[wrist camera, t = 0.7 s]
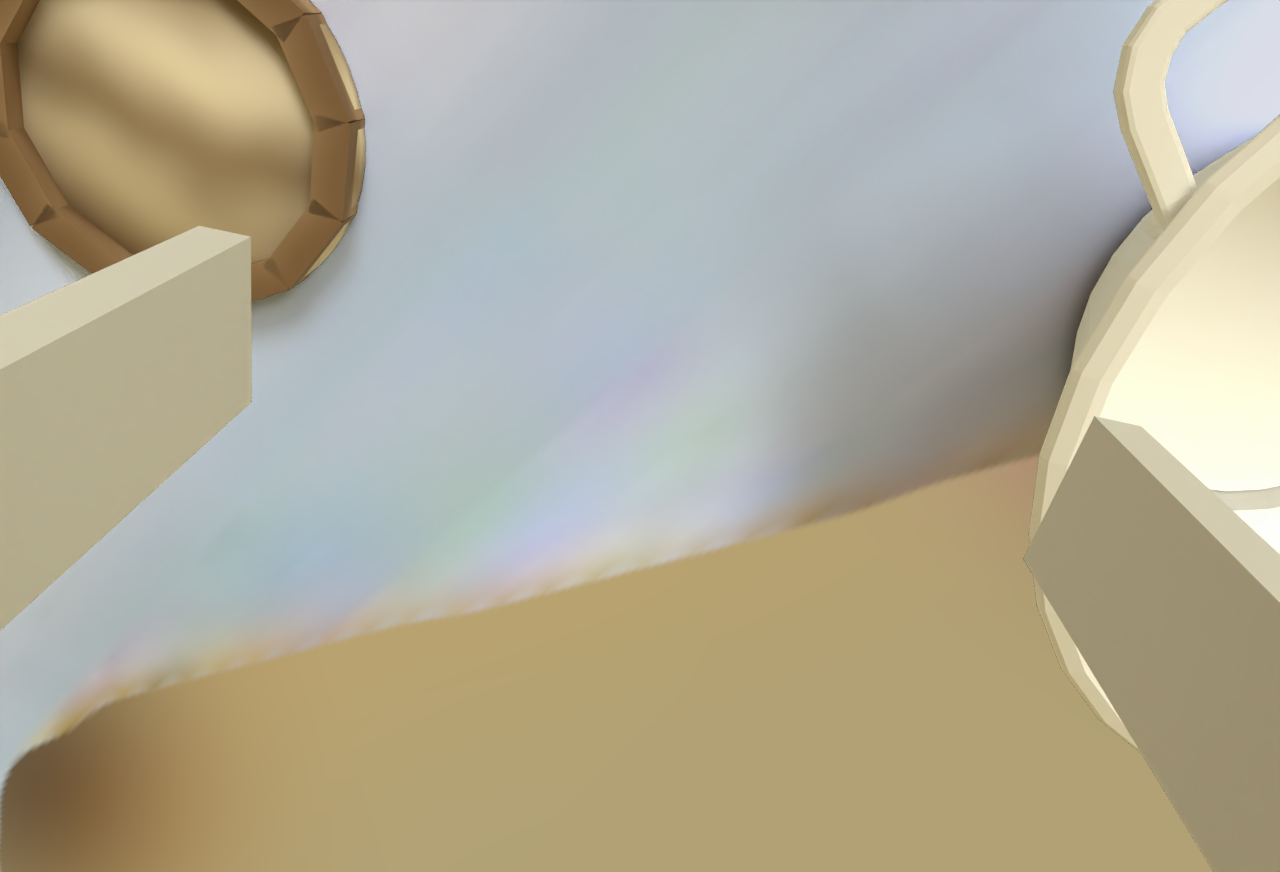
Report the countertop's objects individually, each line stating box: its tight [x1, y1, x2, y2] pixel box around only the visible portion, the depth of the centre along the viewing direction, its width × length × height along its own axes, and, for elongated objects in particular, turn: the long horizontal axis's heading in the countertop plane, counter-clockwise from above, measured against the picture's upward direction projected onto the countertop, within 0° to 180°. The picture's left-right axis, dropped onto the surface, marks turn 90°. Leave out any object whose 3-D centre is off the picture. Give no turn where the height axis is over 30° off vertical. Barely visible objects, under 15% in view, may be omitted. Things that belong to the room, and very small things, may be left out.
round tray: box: [0, 0, 366, 301], centre depth 37 cm, size 16×16×2 cm
